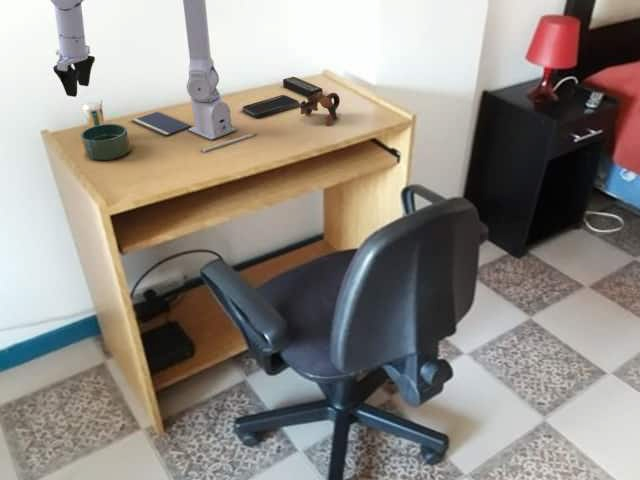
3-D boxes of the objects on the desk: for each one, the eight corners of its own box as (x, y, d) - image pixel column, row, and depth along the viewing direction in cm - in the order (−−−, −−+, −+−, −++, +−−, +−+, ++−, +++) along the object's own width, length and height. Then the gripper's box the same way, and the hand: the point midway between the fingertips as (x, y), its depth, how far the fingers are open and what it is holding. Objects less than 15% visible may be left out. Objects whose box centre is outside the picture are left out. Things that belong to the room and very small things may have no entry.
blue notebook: (191, 127, 154) (190, 125, 153) (165, 136, 149) (165, 134, 148) (157, 113, 161) (157, 111, 161) (132, 121, 156) (131, 119, 156)
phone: (240, 107, 162) (283, 94, 170) (241, 110, 163) (283, 98, 171) (257, 114, 157) (300, 101, 166) (257, 118, 158) (300, 105, 166)
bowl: (140, 151, 141) (135, 131, 138) (101, 165, 135) (95, 145, 132) (116, 140, 147) (111, 120, 143) (78, 153, 140) (72, 133, 137)
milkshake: (106, 142, 145) (96, 103, 139) (87, 140, 146) (76, 102, 140) (116, 135, 149) (106, 97, 143) (97, 133, 150) (87, 95, 144)
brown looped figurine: (324, 131, 153) (307, 103, 150) (305, 136, 161) (289, 109, 157) (353, 108, 158) (338, 80, 155) (334, 113, 166) (319, 87, 163)
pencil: (255, 134, 149) (204, 150, 141) (254, 136, 150) (204, 153, 142) (253, 131, 150) (202, 148, 141) (253, 134, 150) (202, 150, 142)
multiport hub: (294, 83, 182) (293, 76, 180) (323, 96, 173) (322, 88, 172) (282, 86, 179) (282, 79, 178) (311, 99, 171) (311, 91, 169)
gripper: (66, 23, 143) (73, 78, 151) (40, 39, 131) (48, 97, 139) (96, 29, 143) (101, 82, 151) (72, 45, 132) (78, 102, 139)
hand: (78, 90), depth 145 cm, fingers open, 7 cm apart
